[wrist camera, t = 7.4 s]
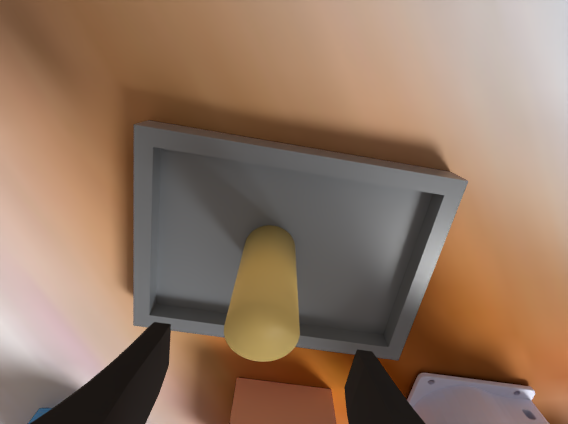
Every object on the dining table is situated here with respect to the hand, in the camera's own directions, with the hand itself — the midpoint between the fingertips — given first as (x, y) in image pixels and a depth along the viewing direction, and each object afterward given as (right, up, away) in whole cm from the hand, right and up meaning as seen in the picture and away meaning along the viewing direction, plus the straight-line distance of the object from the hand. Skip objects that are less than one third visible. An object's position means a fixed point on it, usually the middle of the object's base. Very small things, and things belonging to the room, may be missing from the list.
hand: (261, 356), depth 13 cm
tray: (+1, +3, +9) cm, 10 cm away
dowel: (0, +3, +8) cm, 9 cm away
